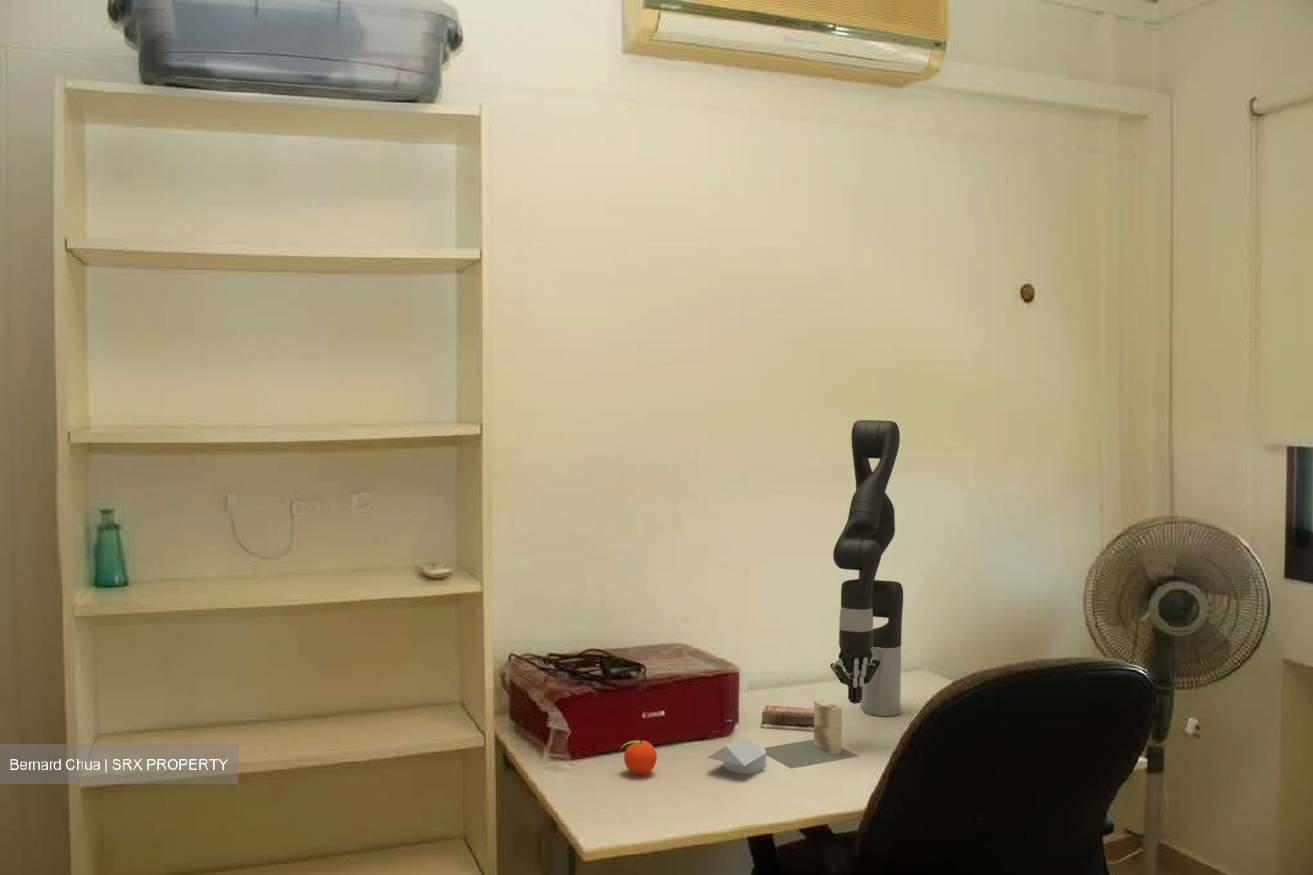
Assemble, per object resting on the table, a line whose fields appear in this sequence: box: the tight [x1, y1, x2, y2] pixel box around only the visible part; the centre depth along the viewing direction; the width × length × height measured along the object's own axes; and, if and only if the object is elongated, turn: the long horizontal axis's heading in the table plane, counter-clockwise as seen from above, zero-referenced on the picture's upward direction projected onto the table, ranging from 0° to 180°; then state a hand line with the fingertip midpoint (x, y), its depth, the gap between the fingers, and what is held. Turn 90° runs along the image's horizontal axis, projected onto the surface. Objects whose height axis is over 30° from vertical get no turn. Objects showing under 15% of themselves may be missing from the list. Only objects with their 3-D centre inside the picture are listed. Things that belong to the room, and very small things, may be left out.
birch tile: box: [813, 700, 843, 754], centre depth 246 cm, size 7×2×10 cm, turn 27°
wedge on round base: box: [707, 735, 767, 774], centre depth 235 cm, size 9×7×13 cm
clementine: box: [619, 739, 658, 775], centre depth 232 cm, size 8×7×7 cm
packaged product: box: [759, 704, 814, 733], centre depth 265 cm, size 18×5×10 cm
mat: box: [763, 738, 859, 769], centre depth 244 cm, size 14×18×1 cm
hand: (854, 702), depth 249 cm, fingers closed
